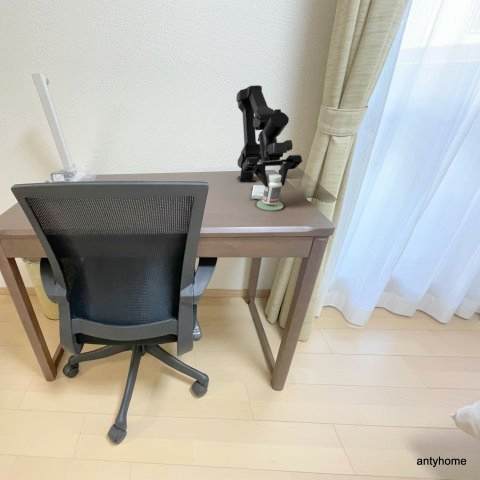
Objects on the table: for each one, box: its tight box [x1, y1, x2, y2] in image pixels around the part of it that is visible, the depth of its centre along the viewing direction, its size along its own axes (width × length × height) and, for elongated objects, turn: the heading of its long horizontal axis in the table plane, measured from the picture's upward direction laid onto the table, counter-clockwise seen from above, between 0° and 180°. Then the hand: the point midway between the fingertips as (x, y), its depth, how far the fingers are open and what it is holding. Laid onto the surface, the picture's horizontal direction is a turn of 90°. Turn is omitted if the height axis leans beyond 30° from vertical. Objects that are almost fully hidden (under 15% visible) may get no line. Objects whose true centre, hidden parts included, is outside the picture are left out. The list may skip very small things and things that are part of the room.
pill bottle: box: [263, 173, 283, 205], centre depth 90 cm, size 5×5×10 cm
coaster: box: [256, 199, 284, 212], centre depth 93 cm, size 9×9×1 cm
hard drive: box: [251, 184, 265, 200], centre depth 101 cm, size 2×8×12 cm
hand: (274, 186), depth 88 cm, fingers closed on pill bottle, 5 cm apart
